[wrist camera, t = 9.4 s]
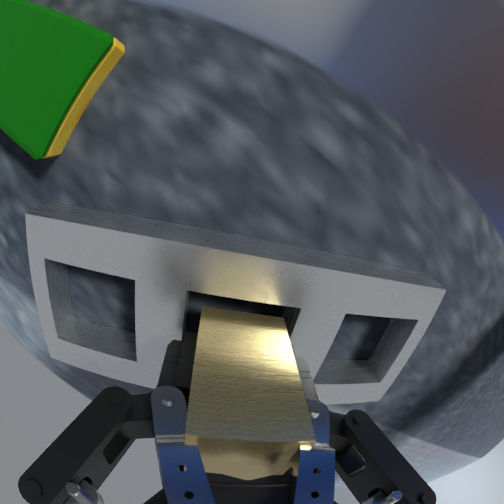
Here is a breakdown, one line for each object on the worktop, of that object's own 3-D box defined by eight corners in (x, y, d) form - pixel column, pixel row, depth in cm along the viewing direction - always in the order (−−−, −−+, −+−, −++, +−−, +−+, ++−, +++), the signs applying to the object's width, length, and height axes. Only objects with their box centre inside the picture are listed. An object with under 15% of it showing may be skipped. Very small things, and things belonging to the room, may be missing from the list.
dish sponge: (19, 1, 6) (2, -7, 4) (131, 50, 10) (114, 36, 8) (-28, 81, 8) (-47, 81, 6) (62, 158, 12) (37, 163, 10)
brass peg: (283, 317, 13) (316, 440, 7) (264, 371, 15) (279, 481, 8) (202, 305, 13) (185, 434, 6) (194, 363, 14) (181, 475, 8)
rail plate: (425, 272, 16) (446, 289, 14) (368, 379, 19) (378, 400, 17) (50, 202, 13) (25, 213, 10) (64, 336, 16) (50, 357, 14)
